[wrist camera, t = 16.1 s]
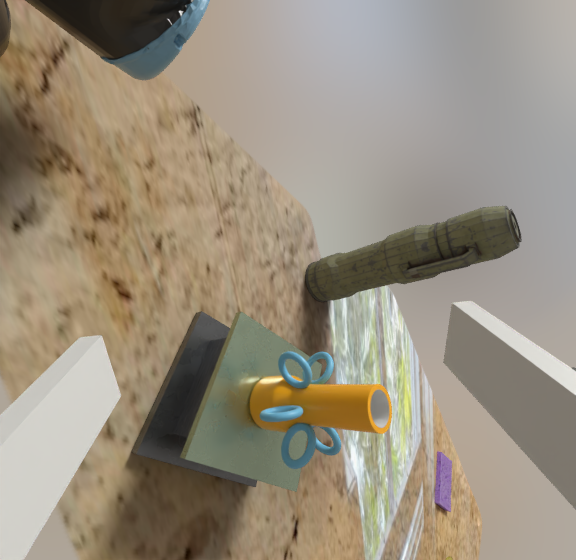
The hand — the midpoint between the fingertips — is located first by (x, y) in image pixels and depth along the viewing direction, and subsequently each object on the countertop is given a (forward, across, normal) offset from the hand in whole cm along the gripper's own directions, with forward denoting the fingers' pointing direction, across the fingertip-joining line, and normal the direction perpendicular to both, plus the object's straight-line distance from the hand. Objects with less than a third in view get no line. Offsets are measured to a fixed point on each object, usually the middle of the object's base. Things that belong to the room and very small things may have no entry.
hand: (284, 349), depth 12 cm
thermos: (+51, +10, -18) cm, 55 cm away
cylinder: (+20, -2, -20) cm, 29 cm away
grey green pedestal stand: (+26, -9, -24) cm, 37 cm away
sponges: (+46, +40, -77) cm, 99 cm away
